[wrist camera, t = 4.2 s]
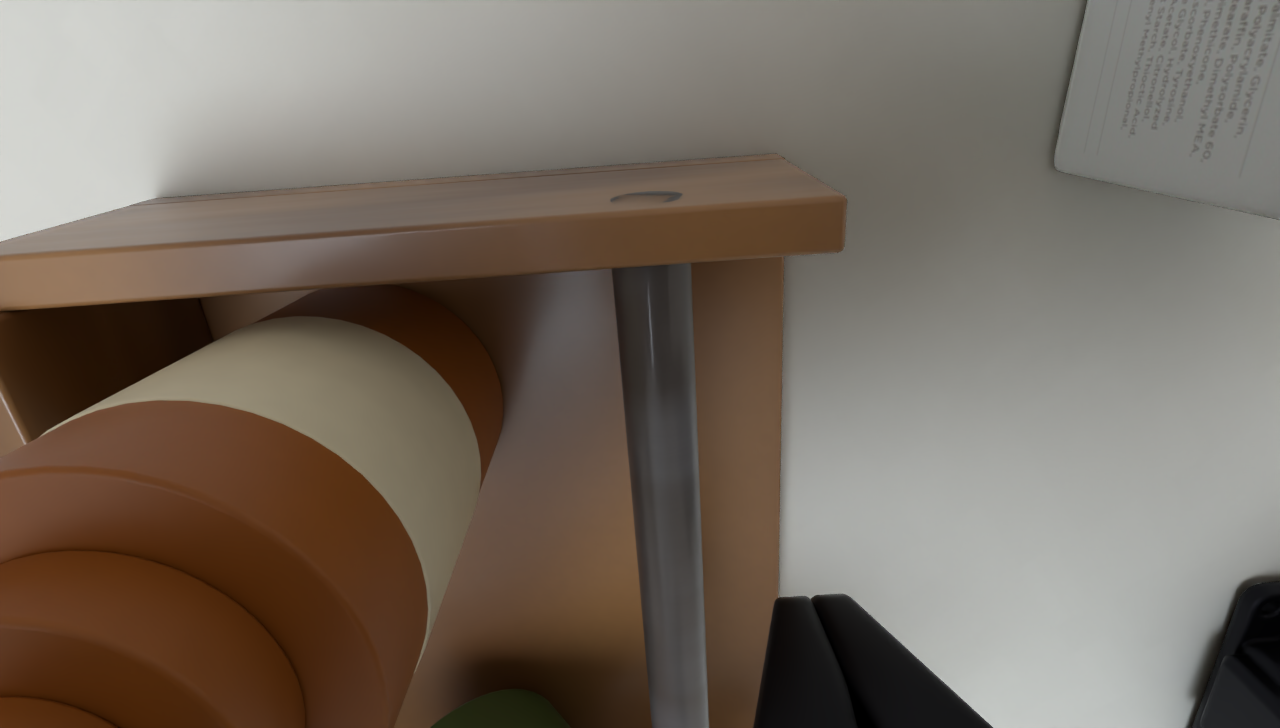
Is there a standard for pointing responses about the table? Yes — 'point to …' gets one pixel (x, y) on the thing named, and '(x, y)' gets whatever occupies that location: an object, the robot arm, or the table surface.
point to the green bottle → (504, 712)
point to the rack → (508, 395)
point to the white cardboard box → (1178, 101)
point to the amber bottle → (249, 525)
